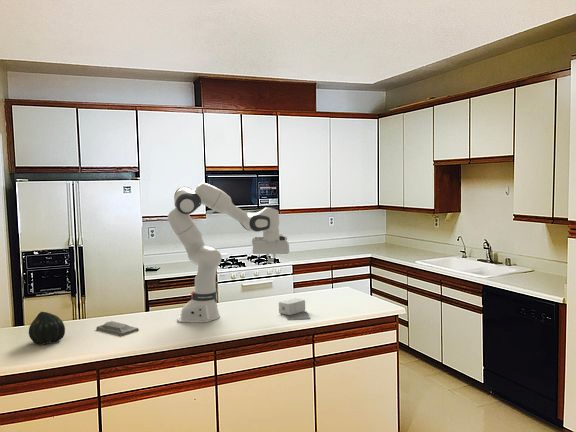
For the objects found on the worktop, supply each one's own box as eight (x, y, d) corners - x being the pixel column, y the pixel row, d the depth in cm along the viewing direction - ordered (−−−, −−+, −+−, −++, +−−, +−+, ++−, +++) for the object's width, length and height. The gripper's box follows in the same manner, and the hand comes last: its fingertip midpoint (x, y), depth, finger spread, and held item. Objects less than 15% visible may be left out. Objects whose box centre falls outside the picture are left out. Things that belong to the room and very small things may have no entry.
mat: (287, 320, 244) (287, 319, 243) (285, 313, 256) (285, 312, 256) (310, 319, 245) (310, 318, 245) (306, 311, 258) (306, 311, 258)
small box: (288, 315, 250) (305, 311, 258) (288, 303, 249) (305, 299, 258) (278, 313, 255) (295, 308, 264) (278, 301, 255) (295, 297, 264)
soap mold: (121, 337, 224) (121, 330, 223) (95, 330, 234) (95, 324, 234) (138, 331, 232) (138, 324, 232) (113, 325, 243) (112, 318, 243)
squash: (67, 332, 214) (61, 304, 221) (30, 340, 206) (26, 311, 213) (66, 345, 224) (61, 318, 231) (31, 354, 216) (26, 325, 223)
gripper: (252, 237, 250) (251, 263, 251) (289, 237, 252) (289, 262, 253) (251, 236, 257) (251, 261, 258) (288, 236, 259) (288, 260, 260)
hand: (270, 261), depth 255 cm, fingers closed
